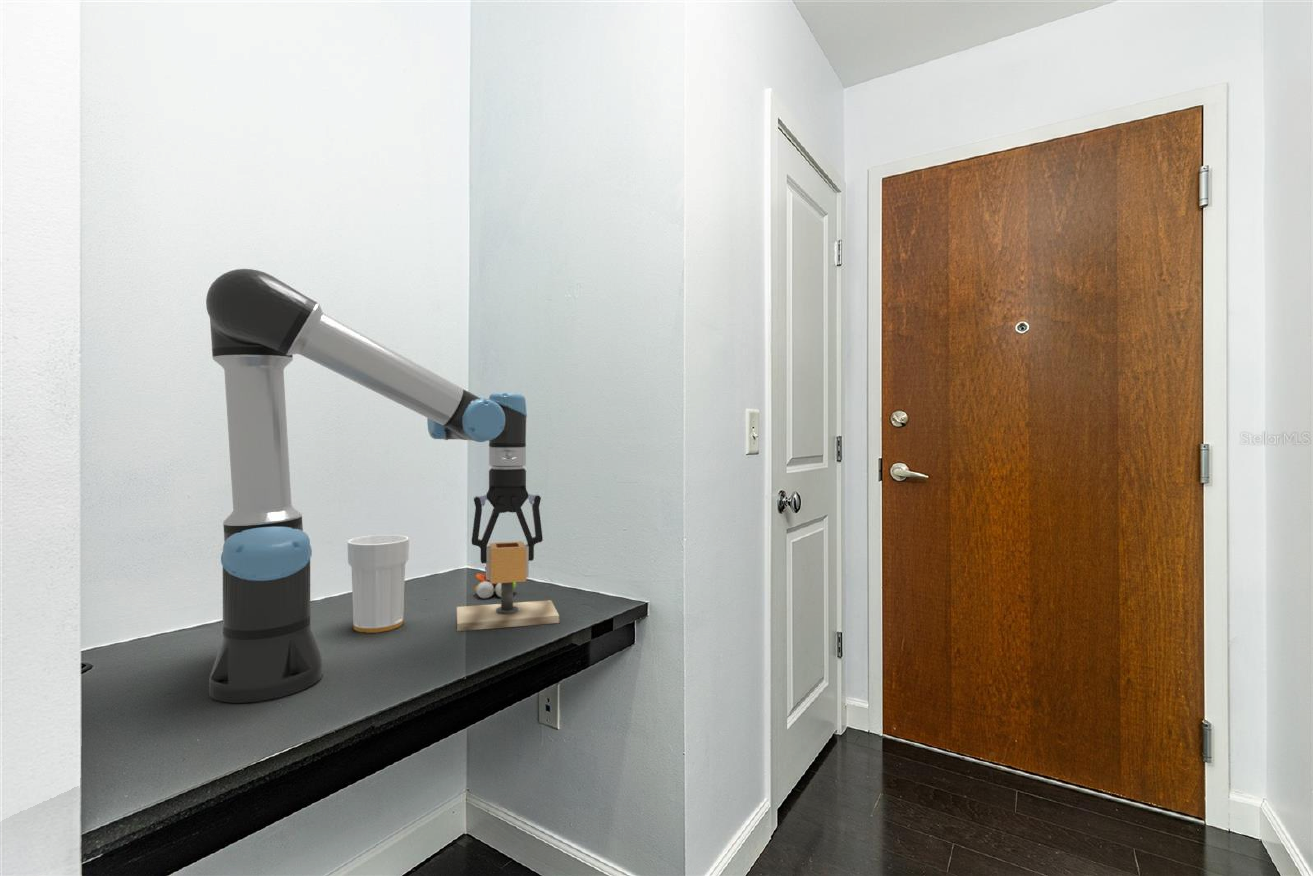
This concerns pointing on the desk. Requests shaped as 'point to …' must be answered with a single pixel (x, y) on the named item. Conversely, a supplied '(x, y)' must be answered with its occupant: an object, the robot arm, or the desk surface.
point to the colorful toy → (487, 587)
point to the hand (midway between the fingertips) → (507, 577)
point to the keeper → (506, 613)
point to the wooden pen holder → (507, 562)
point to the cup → (378, 581)
